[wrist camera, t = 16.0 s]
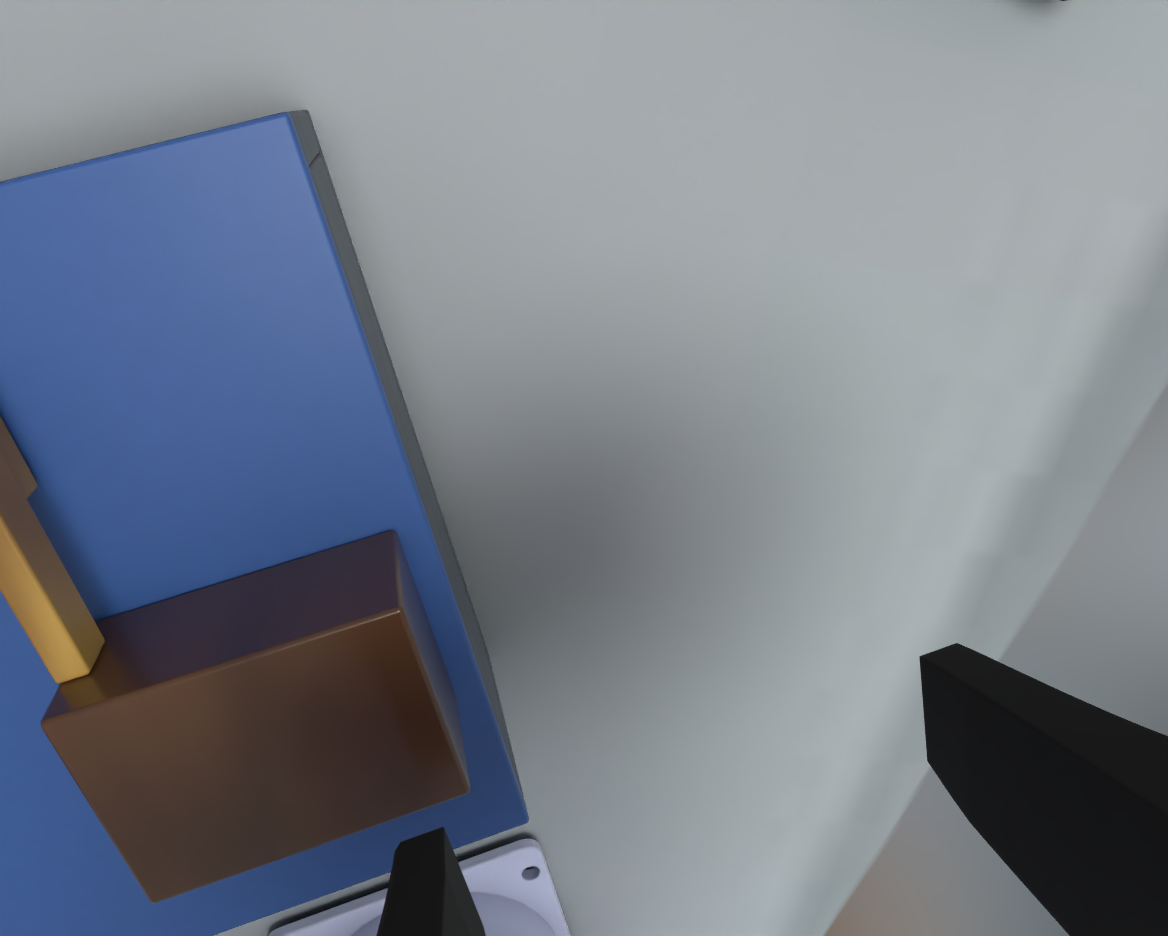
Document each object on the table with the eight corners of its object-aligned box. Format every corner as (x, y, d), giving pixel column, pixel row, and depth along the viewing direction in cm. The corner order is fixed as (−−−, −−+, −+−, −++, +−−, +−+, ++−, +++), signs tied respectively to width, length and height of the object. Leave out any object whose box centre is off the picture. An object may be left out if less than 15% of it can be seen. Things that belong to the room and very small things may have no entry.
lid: (-157, 1044, 17) (-174, 1075, 16) (-782, 374, 11) (-839, 388, 10) (525, 801, 18) (530, 823, 18) (290, 110, 13) (286, 111, 12)
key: (181, 787, 16) (455, 694, 16) (150, 907, 13) (472, 794, 14) (-55, 363, 12) (301, 267, 13) (-152, 425, 10) (290, 304, 11)
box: (-8, 820, 22) (-113, 1028, 17) (-384, 279, 16) (-708, 356, 11) (488, 655, 23) (524, 800, 18) (308, 109, 18) (290, 111, 13)
